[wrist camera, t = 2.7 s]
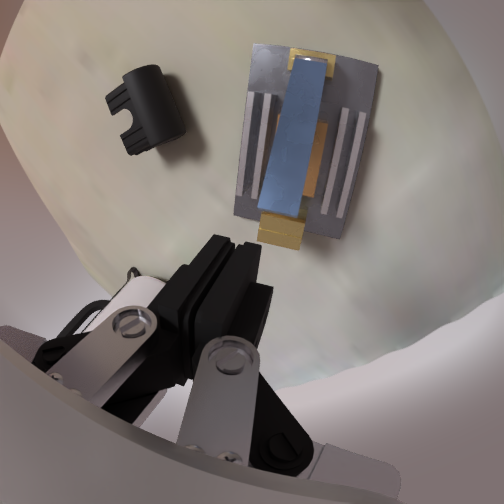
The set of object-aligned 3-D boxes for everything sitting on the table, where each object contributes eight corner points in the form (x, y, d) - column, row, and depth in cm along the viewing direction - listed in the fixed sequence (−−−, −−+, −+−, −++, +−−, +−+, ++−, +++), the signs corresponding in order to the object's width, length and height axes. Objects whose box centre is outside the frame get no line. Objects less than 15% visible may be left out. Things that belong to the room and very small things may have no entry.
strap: (296, 58, 23) (296, 51, 22) (327, 63, 23) (328, 57, 22) (258, 210, 22) (257, 207, 21) (297, 218, 22) (297, 215, 21)
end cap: (197, 129, 35) (172, 137, 29) (155, 149, 38) (127, 161, 32) (170, 65, 31) (140, 62, 25) (130, 89, 34) (99, 92, 28)
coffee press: (150, 241, 46) (21, 376, 21) (214, 310, 50) (132, 466, 25) (107, 282, 54) (12, 388, 29) (160, 337, 58) (88, 452, 33)
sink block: (256, 45, 28) (232, 29, 20) (376, 66, 26) (392, 55, 18) (236, 210, 39) (212, 242, 32) (339, 234, 37) (340, 272, 30)
